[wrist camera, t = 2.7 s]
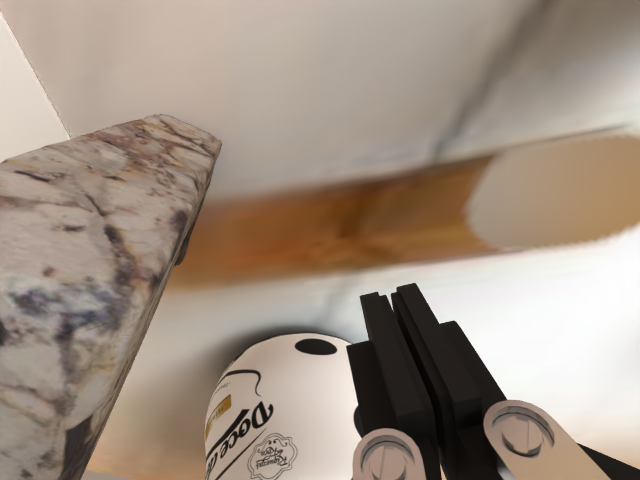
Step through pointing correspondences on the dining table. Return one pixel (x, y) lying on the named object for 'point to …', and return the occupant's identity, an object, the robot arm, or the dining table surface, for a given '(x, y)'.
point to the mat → (23, 103)
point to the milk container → (285, 412)
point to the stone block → (86, 279)
